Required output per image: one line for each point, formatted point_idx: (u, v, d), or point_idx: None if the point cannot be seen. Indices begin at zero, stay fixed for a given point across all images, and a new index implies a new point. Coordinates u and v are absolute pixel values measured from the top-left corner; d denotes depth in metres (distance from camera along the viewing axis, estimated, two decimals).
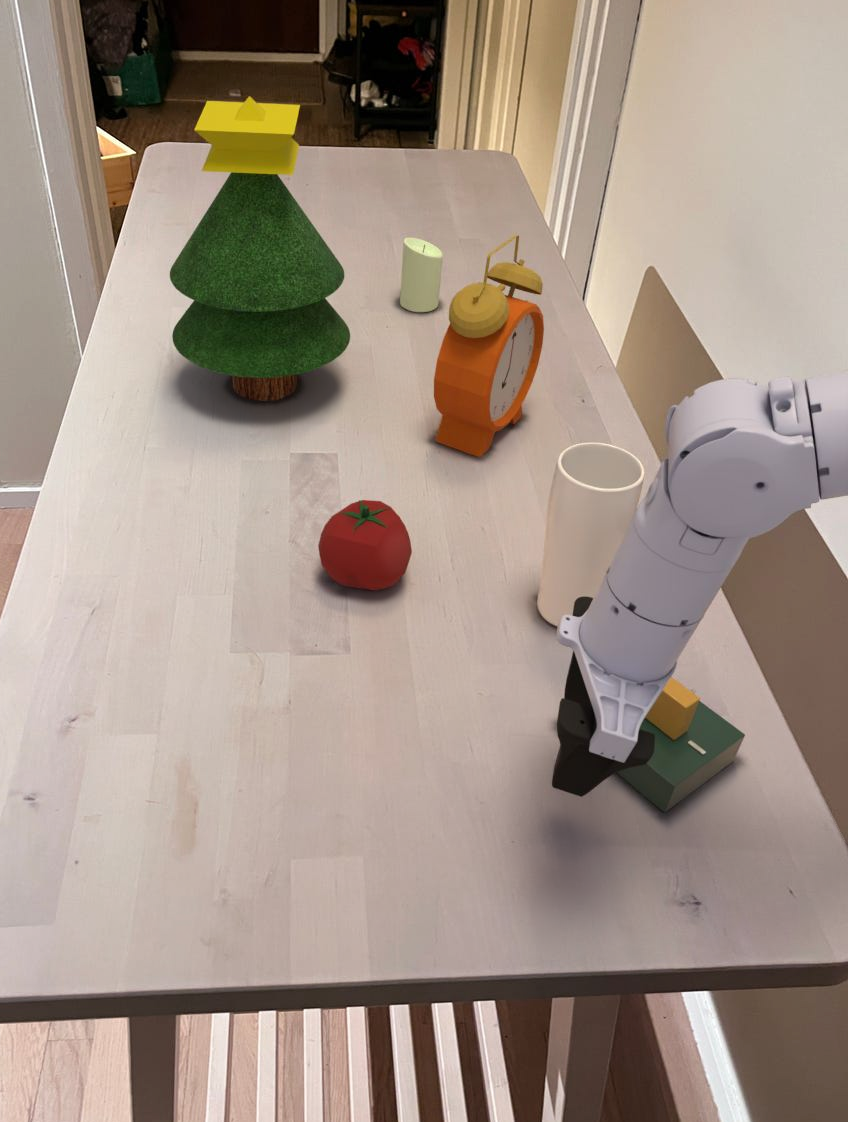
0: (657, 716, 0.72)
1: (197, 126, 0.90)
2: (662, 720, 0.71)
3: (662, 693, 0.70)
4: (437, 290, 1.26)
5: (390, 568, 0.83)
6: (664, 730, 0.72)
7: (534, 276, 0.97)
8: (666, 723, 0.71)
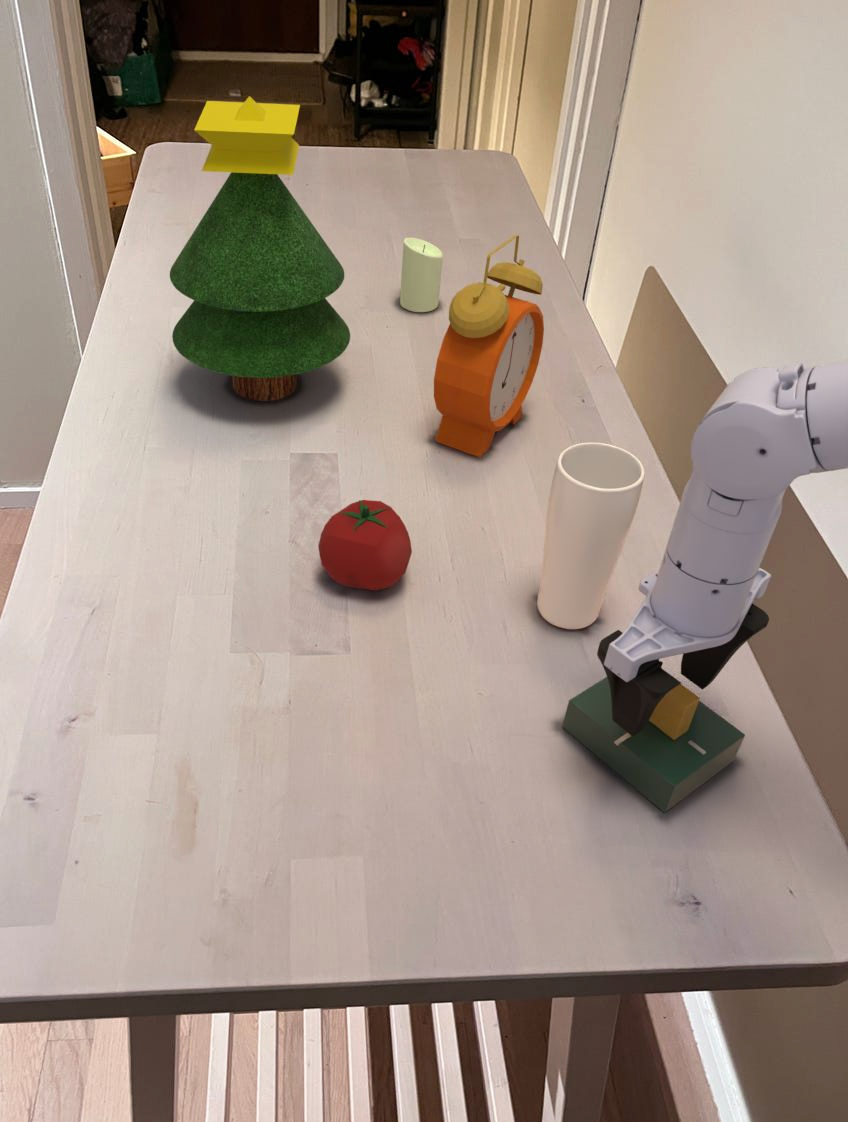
0: (657, 716, 0.72)
1: (197, 126, 0.90)
2: (662, 720, 0.71)
3: None
4: (437, 290, 1.26)
5: (390, 568, 0.83)
6: (664, 730, 0.72)
7: (534, 276, 0.97)
8: (666, 723, 0.71)
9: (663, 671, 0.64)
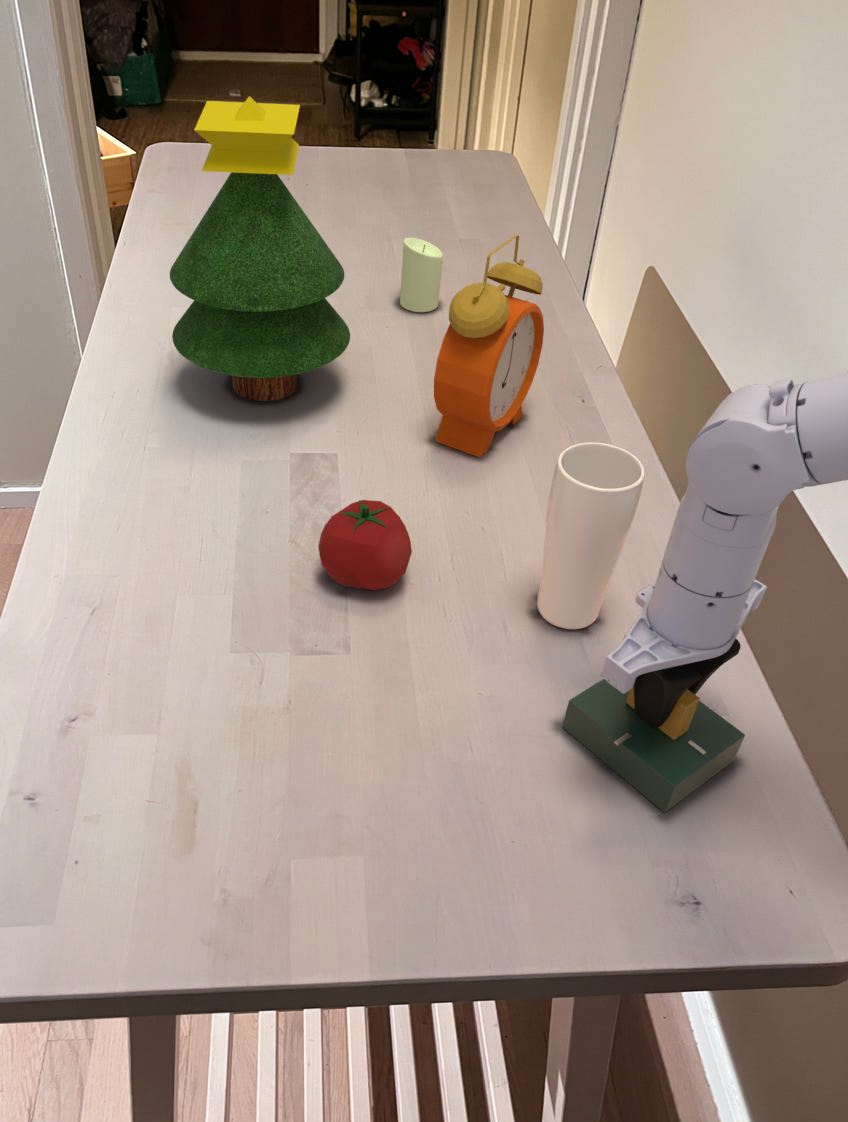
0: None
1: (197, 126, 0.90)
2: None
3: None
4: (437, 290, 1.26)
5: (390, 568, 0.83)
6: (664, 730, 0.72)
7: (534, 276, 0.97)
8: (666, 723, 0.71)
9: (686, 665, 0.66)
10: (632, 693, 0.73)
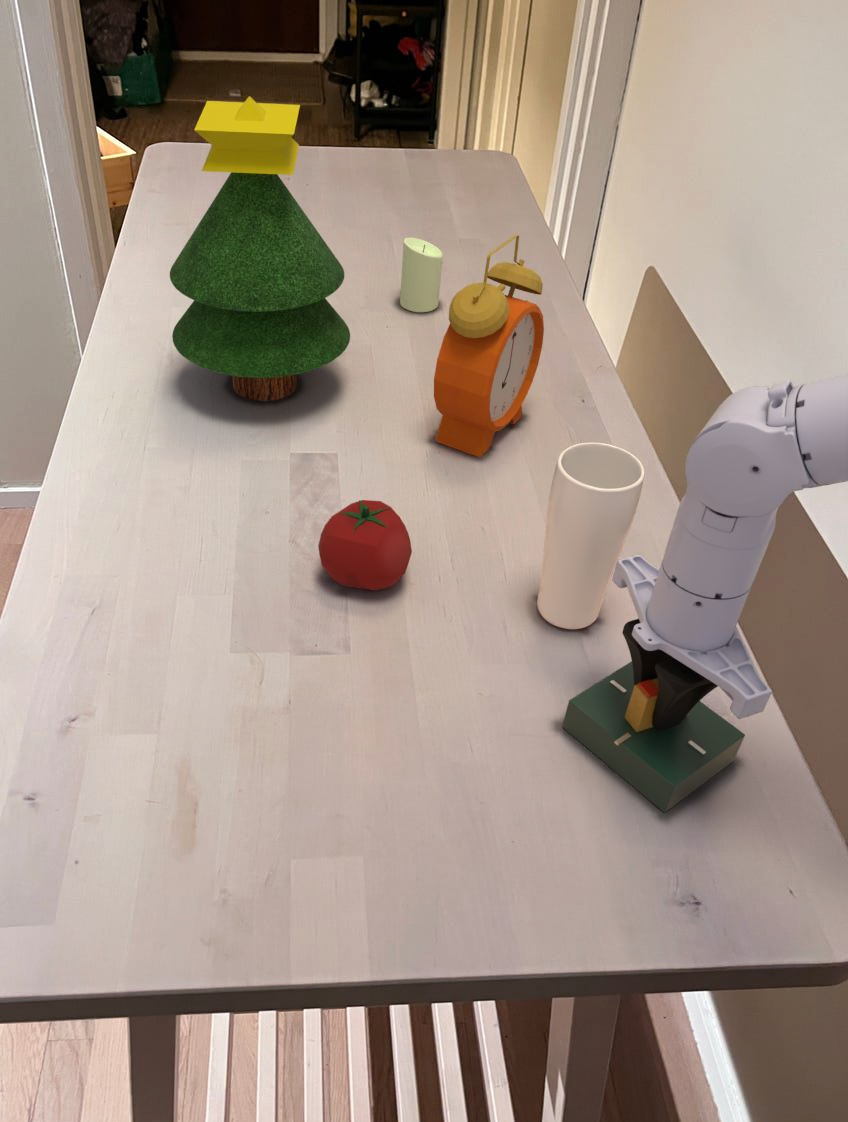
0: None
1: (197, 126, 0.90)
2: None
3: None
4: (437, 290, 1.26)
5: (390, 568, 0.83)
6: None
7: (533, 276, 0.97)
8: None
9: None
10: (644, 719, 0.71)
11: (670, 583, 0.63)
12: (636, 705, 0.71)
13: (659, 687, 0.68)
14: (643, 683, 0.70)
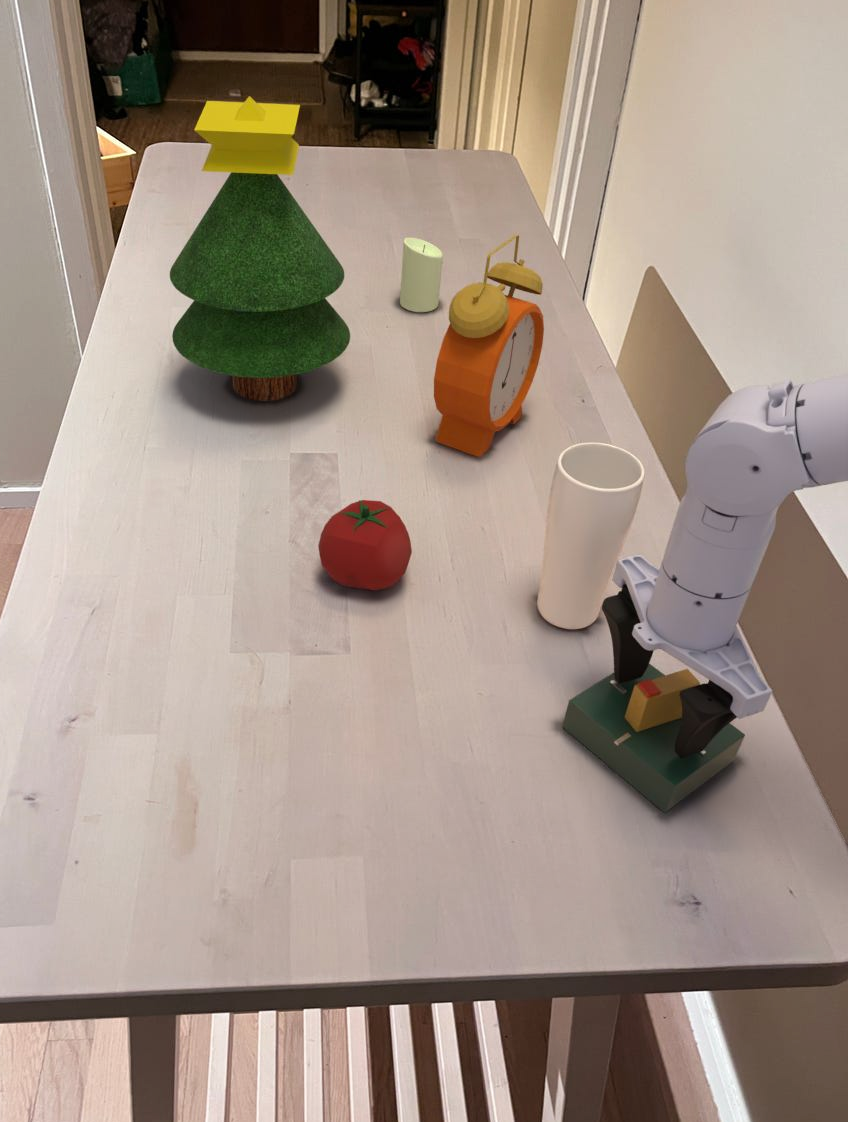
0: (671, 713, 0.72)
1: (197, 126, 0.90)
2: (676, 712, 0.72)
3: (676, 693, 0.70)
4: (437, 290, 1.26)
5: (390, 568, 0.83)
6: (678, 716, 0.73)
7: (534, 276, 0.97)
8: (680, 710, 0.72)
9: None
10: (644, 719, 0.71)
11: (670, 583, 0.63)
12: (636, 705, 0.71)
13: (683, 714, 0.66)
14: (643, 683, 0.70)
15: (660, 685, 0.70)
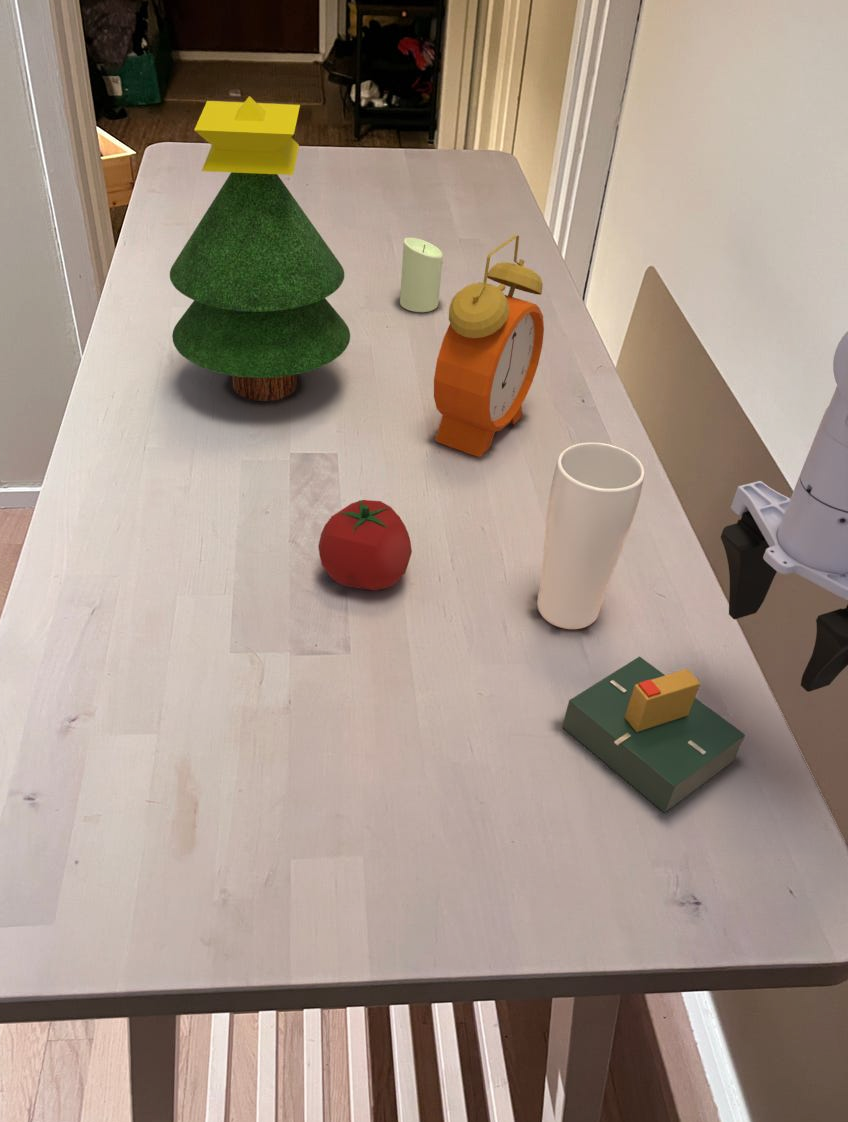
0: (671, 713, 0.72)
1: (197, 126, 0.90)
2: (676, 712, 0.72)
3: (676, 693, 0.70)
4: (437, 290, 1.26)
5: (390, 568, 0.83)
6: (678, 716, 0.73)
7: (533, 276, 0.97)
8: (680, 710, 0.72)
9: None
10: (644, 719, 0.71)
11: (811, 500, 0.60)
12: (636, 705, 0.71)
13: (816, 642, 0.63)
14: (643, 683, 0.70)
15: (660, 685, 0.70)
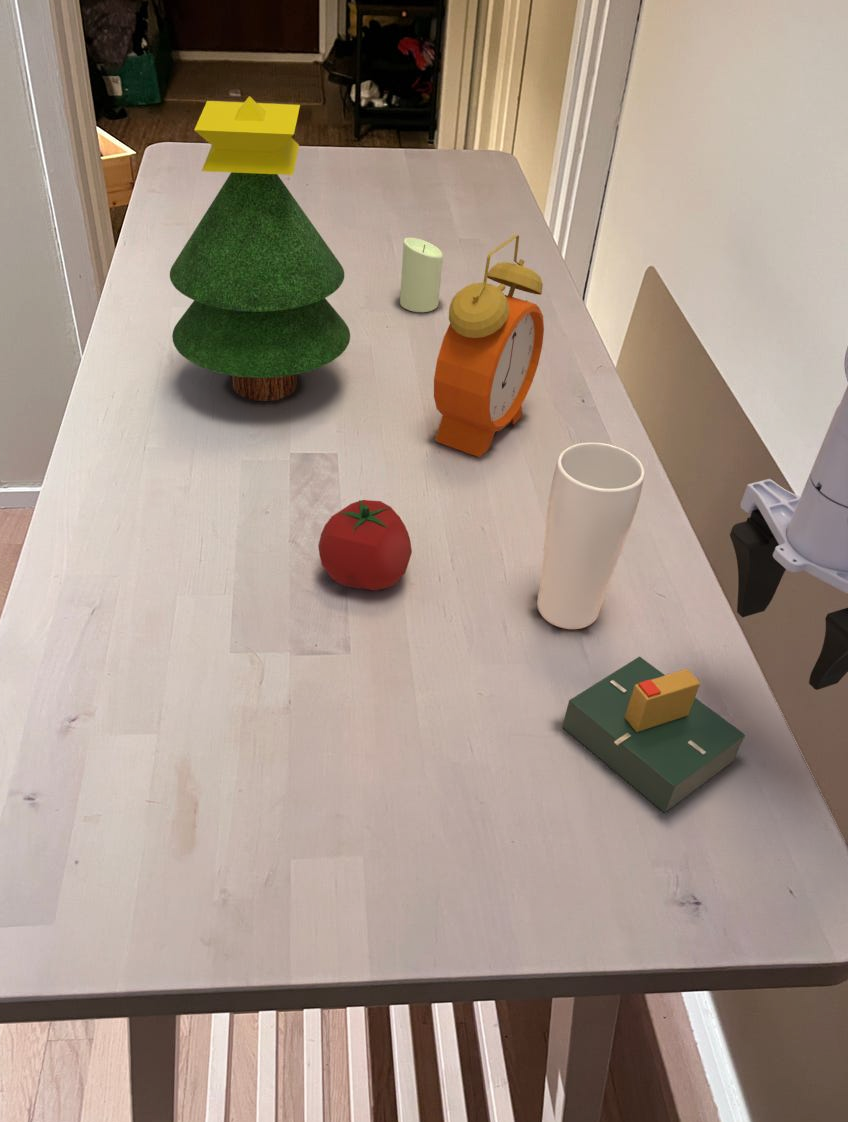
0: (671, 713, 0.72)
1: (197, 126, 0.90)
2: (676, 712, 0.72)
3: (676, 693, 0.70)
4: (437, 290, 1.26)
5: (390, 568, 0.83)
6: (678, 716, 0.73)
7: (534, 276, 0.97)
8: (680, 710, 0.72)
9: None
10: (644, 719, 0.71)
11: (821, 498, 0.60)
12: (636, 705, 0.71)
13: (825, 640, 0.63)
14: (643, 683, 0.70)
15: (660, 685, 0.70)
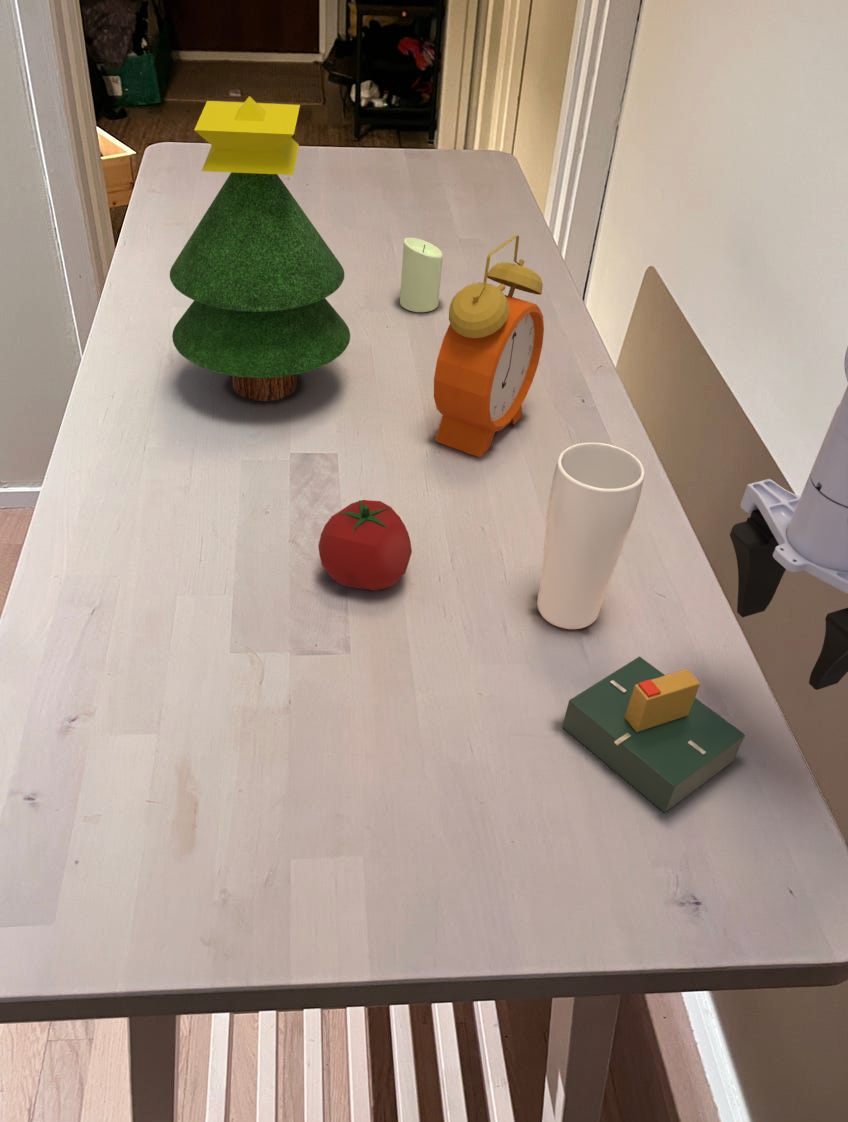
0: (671, 713, 0.72)
1: (197, 126, 0.90)
2: (676, 712, 0.72)
3: (676, 693, 0.70)
4: (437, 290, 1.26)
5: (390, 568, 0.83)
6: (678, 716, 0.73)
7: (534, 276, 0.97)
8: (680, 710, 0.72)
9: None
10: (644, 719, 0.71)
11: (821, 498, 0.60)
12: (636, 705, 0.71)
13: (825, 640, 0.63)
14: (643, 683, 0.70)
15: (660, 685, 0.70)
